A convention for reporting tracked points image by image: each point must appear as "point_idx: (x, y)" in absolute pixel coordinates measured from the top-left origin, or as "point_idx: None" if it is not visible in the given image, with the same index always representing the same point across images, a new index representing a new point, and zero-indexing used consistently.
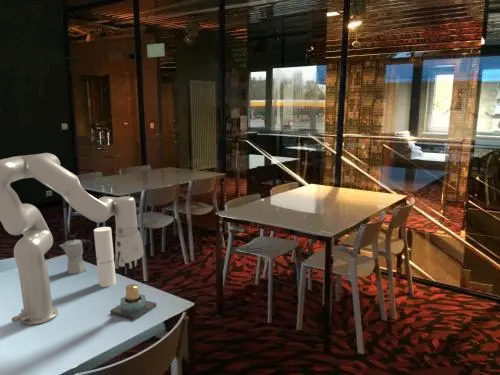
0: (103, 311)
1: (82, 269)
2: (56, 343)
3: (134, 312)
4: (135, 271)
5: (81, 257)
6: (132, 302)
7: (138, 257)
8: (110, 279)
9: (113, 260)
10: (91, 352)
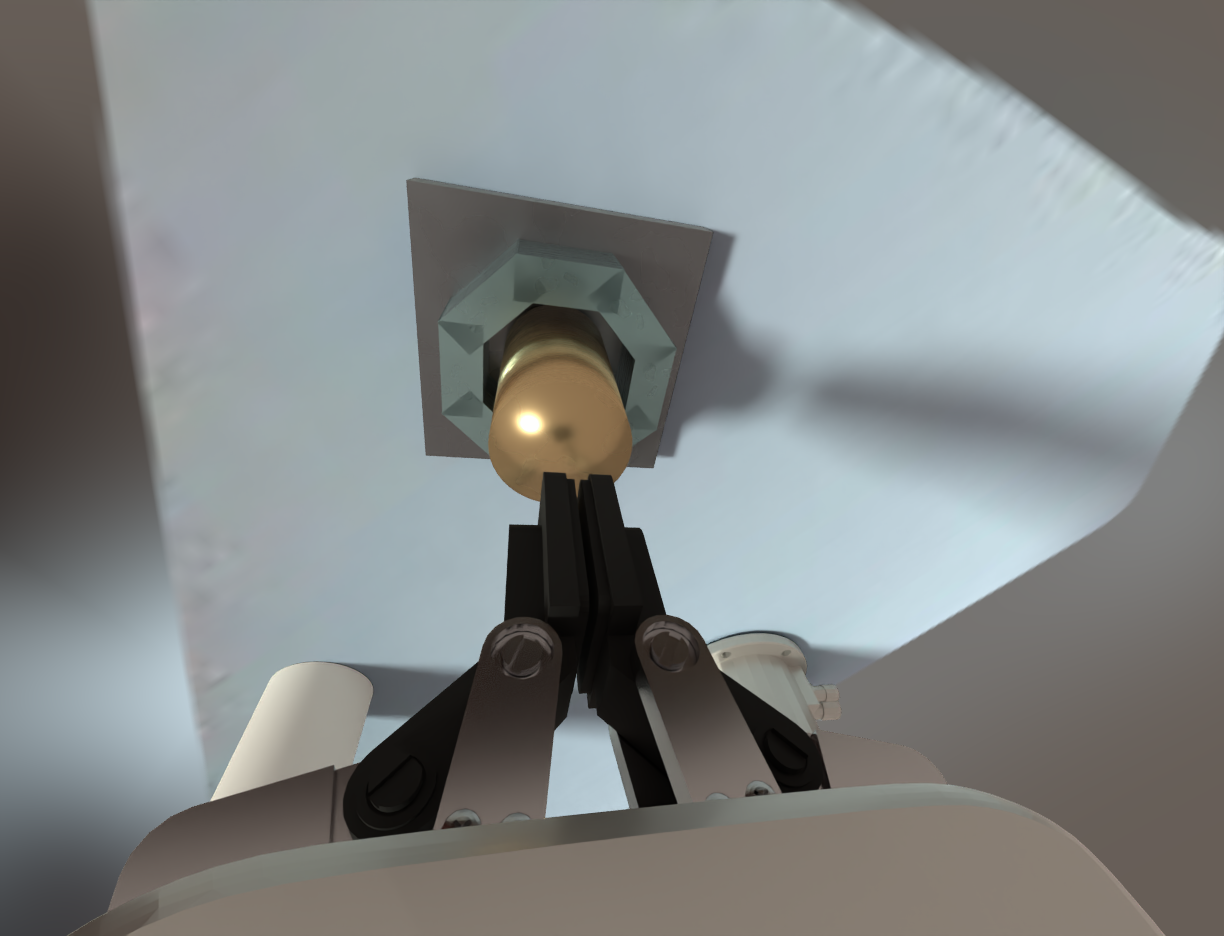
0: (628, 507)
1: None
2: (961, 485)
3: (648, 279)
4: (556, 534)
5: None
6: (604, 351)
7: (481, 881)
8: (317, 702)
9: None
10: (1110, 252)
